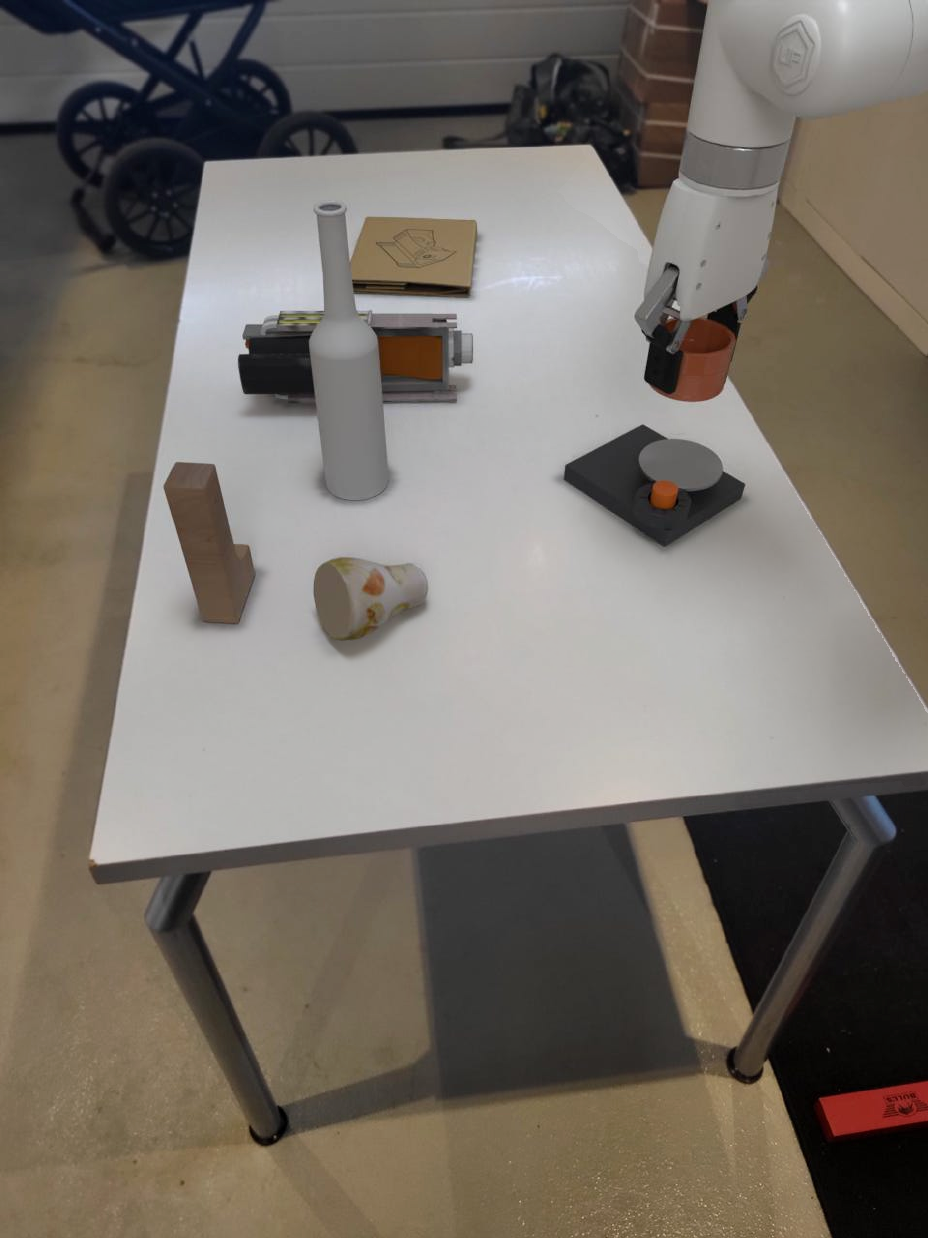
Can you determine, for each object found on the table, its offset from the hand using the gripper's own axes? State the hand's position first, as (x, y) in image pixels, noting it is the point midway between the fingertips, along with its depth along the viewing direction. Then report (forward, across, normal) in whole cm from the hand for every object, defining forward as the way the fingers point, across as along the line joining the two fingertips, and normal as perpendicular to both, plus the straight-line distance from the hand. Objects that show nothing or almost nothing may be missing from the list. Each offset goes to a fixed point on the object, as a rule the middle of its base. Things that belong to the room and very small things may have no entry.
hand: (687, 371), depth 78 cm
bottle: (+16, +21, -23) cm, 35 cm away
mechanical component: (+16, +11, -36) cm, 41 cm away
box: (+16, -16, -61) cm, 65 cm away
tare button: (+13, +2, +2) cm, 13 cm away
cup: (+1, 0, 0) cm, 1 cm away
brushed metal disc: (+12, -3, -1) cm, 13 cm away
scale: (+16, -2, -3) cm, 16 cm away
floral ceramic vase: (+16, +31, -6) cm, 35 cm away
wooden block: (+16, +40, -16) cm, 46 cm away
